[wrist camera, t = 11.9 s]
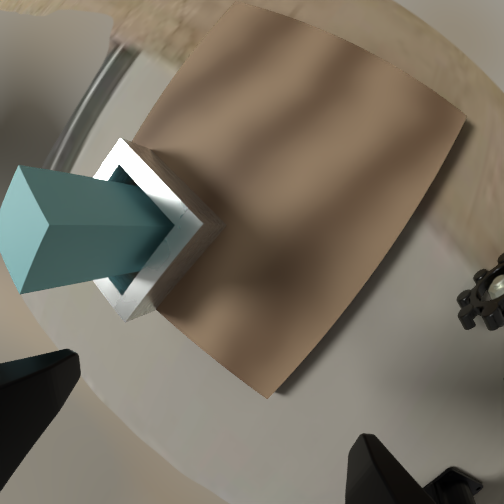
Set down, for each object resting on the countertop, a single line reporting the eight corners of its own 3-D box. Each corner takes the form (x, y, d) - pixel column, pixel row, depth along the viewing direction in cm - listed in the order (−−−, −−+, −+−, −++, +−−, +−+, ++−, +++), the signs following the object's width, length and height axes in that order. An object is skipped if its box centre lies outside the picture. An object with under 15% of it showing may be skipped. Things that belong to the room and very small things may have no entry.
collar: (227, 225, 19) (203, 223, 16) (154, 310, 21) (124, 322, 18) (150, 149, 20) (120, 137, 17) (93, 232, 22) (61, 233, 19)
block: (184, 227, 20) (49, 224, 9) (151, 269, 21) (19, 294, 10) (149, 188, 21) (18, 165, 10) (120, 230, 22) (-8, 232, 11)
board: (461, 121, 16) (467, 116, 14) (271, 391, 20) (267, 399, 19) (240, 9, 19) (235, 1, 18) (93, 237, 24) (83, 237, 23)
